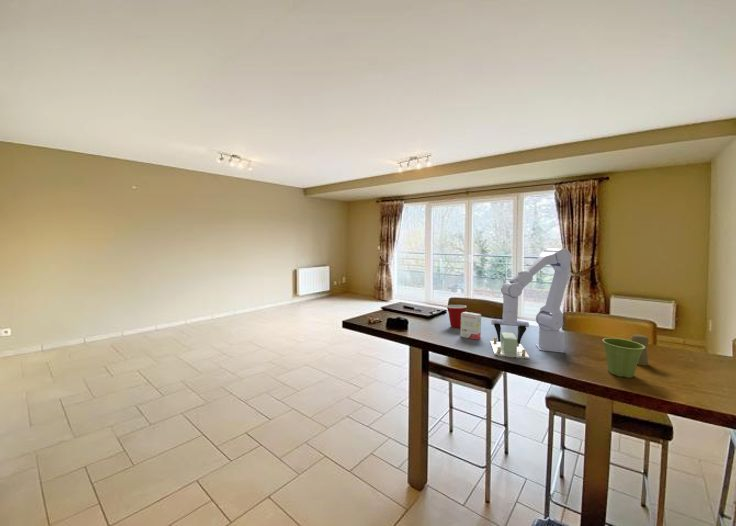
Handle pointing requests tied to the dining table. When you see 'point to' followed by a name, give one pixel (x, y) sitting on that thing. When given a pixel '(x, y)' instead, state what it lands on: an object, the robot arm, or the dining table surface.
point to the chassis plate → (499, 351)
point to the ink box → (470, 325)
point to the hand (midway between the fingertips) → (508, 342)
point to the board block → (508, 342)
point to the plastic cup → (455, 314)
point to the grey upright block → (644, 341)
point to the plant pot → (622, 356)
